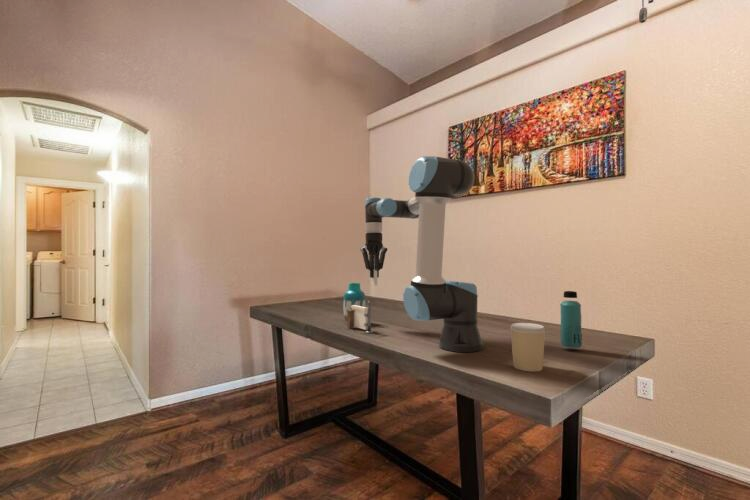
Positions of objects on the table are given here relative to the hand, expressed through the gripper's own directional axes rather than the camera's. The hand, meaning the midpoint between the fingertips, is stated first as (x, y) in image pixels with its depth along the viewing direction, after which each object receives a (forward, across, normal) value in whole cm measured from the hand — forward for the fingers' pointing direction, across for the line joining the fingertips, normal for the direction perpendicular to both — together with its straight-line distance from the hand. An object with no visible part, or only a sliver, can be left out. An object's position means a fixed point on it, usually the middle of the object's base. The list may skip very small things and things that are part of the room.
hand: (374, 285), depth 162 cm
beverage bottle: (+20, -40, +66) cm, 80 cm away
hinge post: (+19, +7, +8) cm, 22 cm away
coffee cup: (+20, -12, +71) cm, 75 cm away
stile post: (+19, +10, -4) cm, 22 cm away
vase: (+19, +3, -14) cm, 24 cm away
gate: (+18, +8, +1) cm, 20 cm away
